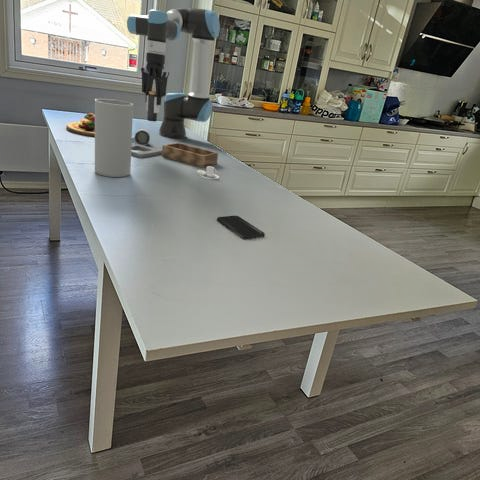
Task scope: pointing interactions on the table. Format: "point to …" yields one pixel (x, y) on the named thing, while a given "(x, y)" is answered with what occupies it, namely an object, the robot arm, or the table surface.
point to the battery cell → (151, 106)
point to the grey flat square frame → (147, 151)
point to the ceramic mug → (141, 137)
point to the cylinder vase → (113, 137)
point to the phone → (240, 227)
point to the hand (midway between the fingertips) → (152, 111)
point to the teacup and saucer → (208, 172)
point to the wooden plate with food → (84, 126)
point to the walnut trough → (190, 154)
